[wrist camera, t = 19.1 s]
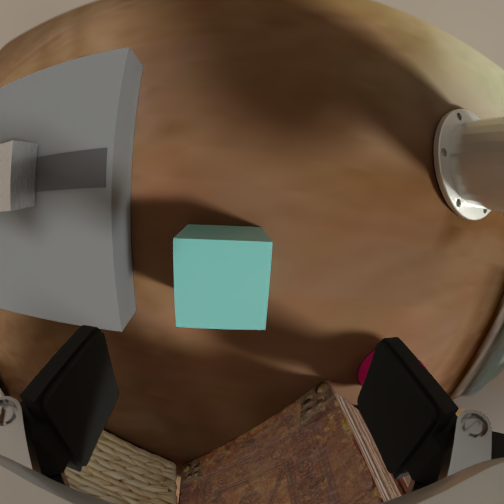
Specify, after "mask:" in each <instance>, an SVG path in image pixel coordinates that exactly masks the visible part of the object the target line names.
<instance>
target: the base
mask: <svg viewBox="0 0 504 504" xmlns="http://www.w3.org/2000/svg"><path fill="white" fill-rule="evenodd" d="M142 71H143V65H142V63H141V62H140V61H139V59H138V58H137V57H136V56H135V54H134V53H133V52H132V50H131V49H130V48H129V47H128V48H122V49H116V50H111V51H106V52H102V53H97V54H93V55H89V56H85V57H81V58H77V59H74V60H70V61H67V62H64V63H60V64H57V65H54V66H51V67H48V68H46V69H43V70H40V71H37V72H35V73H32V74H30V75H27V76H25V77H22V78H20V79H18V80H15V81H13V82H11V83H9V84H7V85H5V86H3V87H0V144H2V143H6V142H9V141H12V140H15V141H23V142H31V143H38V147H37V160H36V183H35V204H36V206H32V207H27V208H22V209H17V210H12V211H2V212H0V309H4V310H8V311H12V312H16V313H20V314H24V315H28V316H33V317H37V318H42V319H47V320H52V321H57V322H62V323H67V324H73V325H79V326H82V325H87V326H93V327H98V328H99V329H105V330H112V331H120V332H122V331H123V330H124V328H125V327H126V325H127V324H128V322H129V321H130V319H131V318H132V316H133V315H134V313H135V312H136V303H135V293H134V282H133V268H132V250H131V172H132V154H133V141H134V130H135V120H136V112H137V104H138V96H139V90H140V83H141V77H142Z"/></svg>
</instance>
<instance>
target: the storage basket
mask: <svg viewBox="0 0 504 504" xmlns="http://www.w3.org/2000/svg"><path fill="white" fill-rule="evenodd" d="M176 468H177V467H176V464H175V463H173V462H171V461H168V460H166V459H164V458H162V457H160V456H158V455H154V454H151V453H149V452H147V451H146V450H144V449H140V448H138V447H136V446H134V445H132V444H131V443H128V442H126V441H124V440H121V439H119V438H118V437H116V436H115V435H113V434H110V433H108V432H106V431H104V430H103V431H102V433H101V435H100V438H99V440H98V442H97V444H96V447H95V449H94V451H93V453H92V456H91V458H90V460H89V463H88V464H87V465H86V466H83V467H82V469H81V472H78V471H76V470H73V469H71V468H68V467H66V469H65V471H64V472H65V475H66V478H67V480H68V483H69V485H70V488H73V489H75V490H78V491H80V492H83V493H85V494H88V495H91V496H93V497H96V498H99V499H102V500H105V501H108V502H111V503H114V504H176V503H177V496H176V489H177V486H176V482H175V480H176Z"/></svg>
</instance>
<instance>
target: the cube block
mask: <svg viewBox="0 0 504 504" xmlns="http://www.w3.org/2000/svg"><path fill="white" fill-rule="evenodd" d="M272 244H273V242H272V240H271V239H270V238H269V236H268V235H267V234H266V232H265V231H264V229H263V228H262V227H248V226H224V225H195V224H188V225H186V226H185V227H184V228H183V229H182V230H181V231H180V232H179V233H178V234H177V235H176V236H175V237H174V238H173V269H174V297H175V316H176V327H188V328H206V329H235V330H265V329H266V318H267V307H268V295H269V283H270V270H271V258H272Z"/></svg>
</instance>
